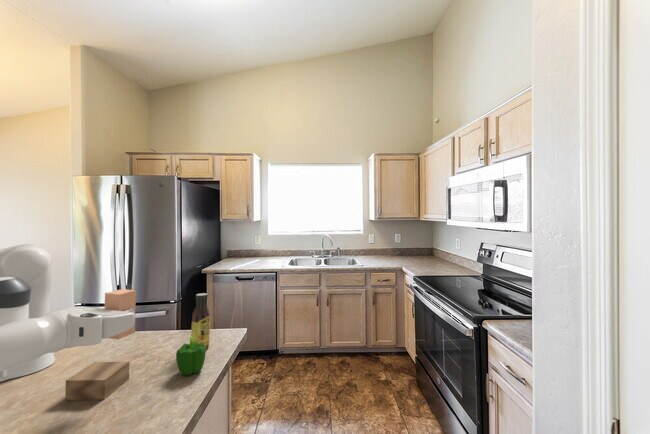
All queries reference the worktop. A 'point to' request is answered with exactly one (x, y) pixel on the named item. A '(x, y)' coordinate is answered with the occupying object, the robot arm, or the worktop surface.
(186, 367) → the bell pepper
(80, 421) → the worktop surface
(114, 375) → the walnut block
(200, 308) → the sauce bottle
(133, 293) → the terracotta block
